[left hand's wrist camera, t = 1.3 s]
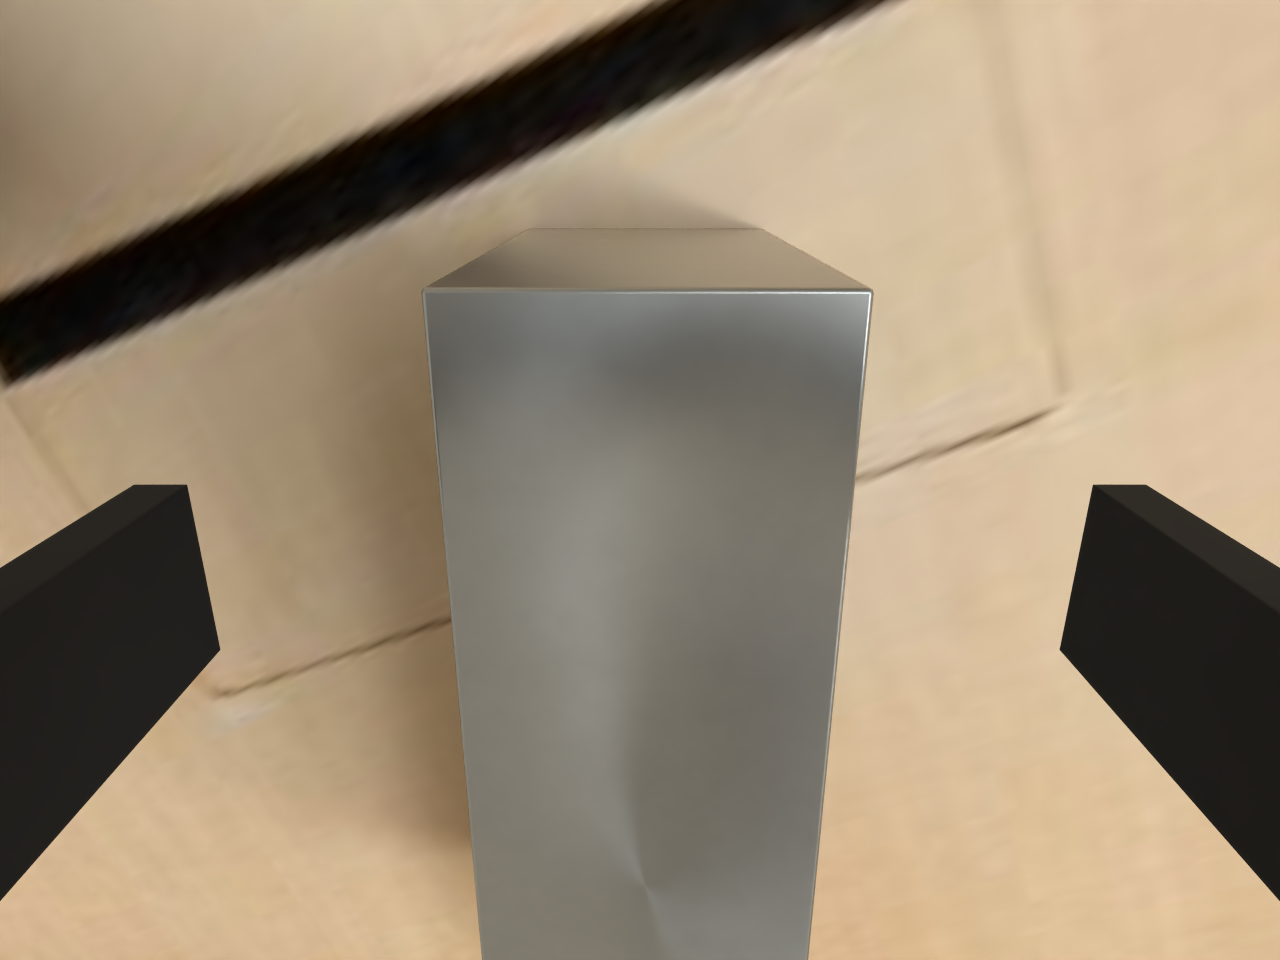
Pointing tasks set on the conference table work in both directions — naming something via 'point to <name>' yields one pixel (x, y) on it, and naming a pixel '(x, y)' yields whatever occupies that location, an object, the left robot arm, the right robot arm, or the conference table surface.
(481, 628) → the box
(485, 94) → the conference table surface
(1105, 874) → the conference table surface
